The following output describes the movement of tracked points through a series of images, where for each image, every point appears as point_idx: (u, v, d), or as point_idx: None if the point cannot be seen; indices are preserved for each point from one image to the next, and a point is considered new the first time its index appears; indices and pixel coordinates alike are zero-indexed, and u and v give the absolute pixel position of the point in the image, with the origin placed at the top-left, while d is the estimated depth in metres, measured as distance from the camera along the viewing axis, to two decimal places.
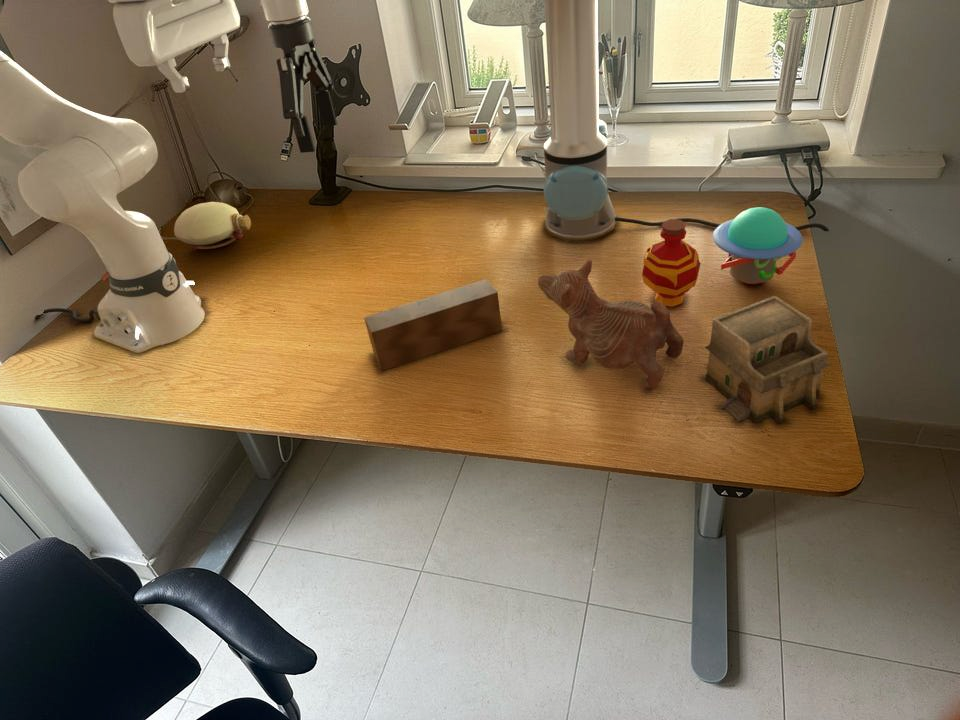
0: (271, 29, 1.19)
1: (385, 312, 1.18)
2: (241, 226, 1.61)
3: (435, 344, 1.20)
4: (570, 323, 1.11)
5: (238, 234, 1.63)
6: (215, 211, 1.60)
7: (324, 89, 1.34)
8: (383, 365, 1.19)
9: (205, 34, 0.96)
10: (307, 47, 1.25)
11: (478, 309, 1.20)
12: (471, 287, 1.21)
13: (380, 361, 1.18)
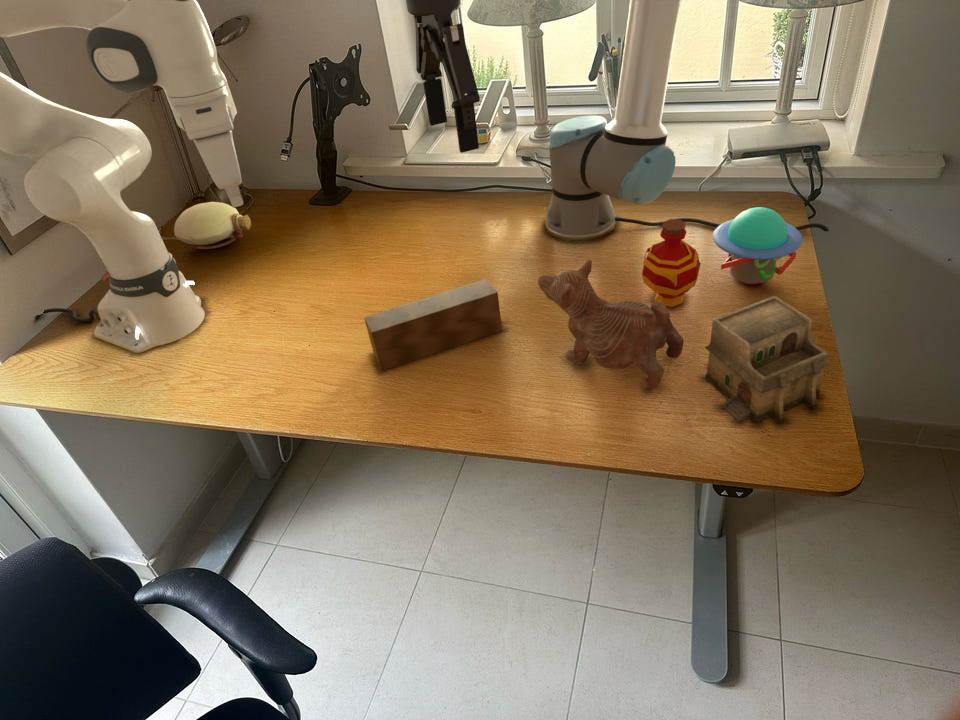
0: None
1: (385, 312, 1.18)
2: (241, 226, 1.61)
3: (435, 344, 1.20)
4: (570, 323, 1.11)
5: (238, 234, 1.63)
6: (215, 211, 1.60)
7: (434, 77, 1.05)
8: (383, 365, 1.19)
9: None
10: None
11: (478, 309, 1.20)
12: (471, 287, 1.21)
13: (380, 361, 1.18)
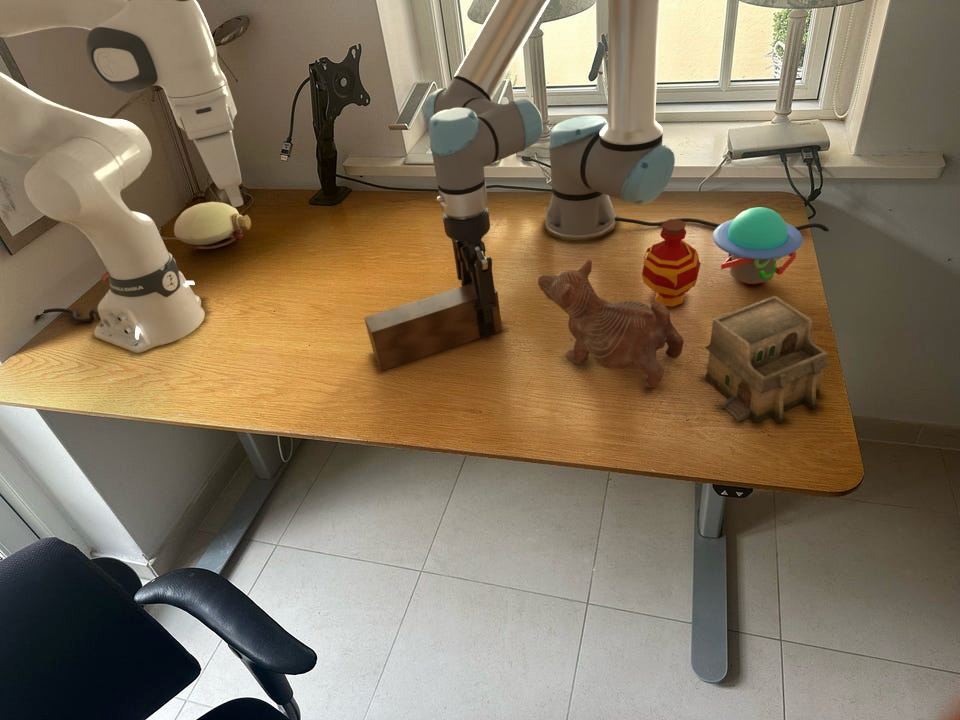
0: (459, 224, 1.09)
1: (385, 312, 1.18)
2: (241, 226, 1.61)
3: (434, 344, 1.20)
4: (570, 323, 1.11)
5: (238, 234, 1.63)
6: (215, 211, 1.60)
7: None
8: (383, 365, 1.19)
9: None
10: None
11: None
12: (471, 287, 1.21)
13: (380, 361, 1.18)
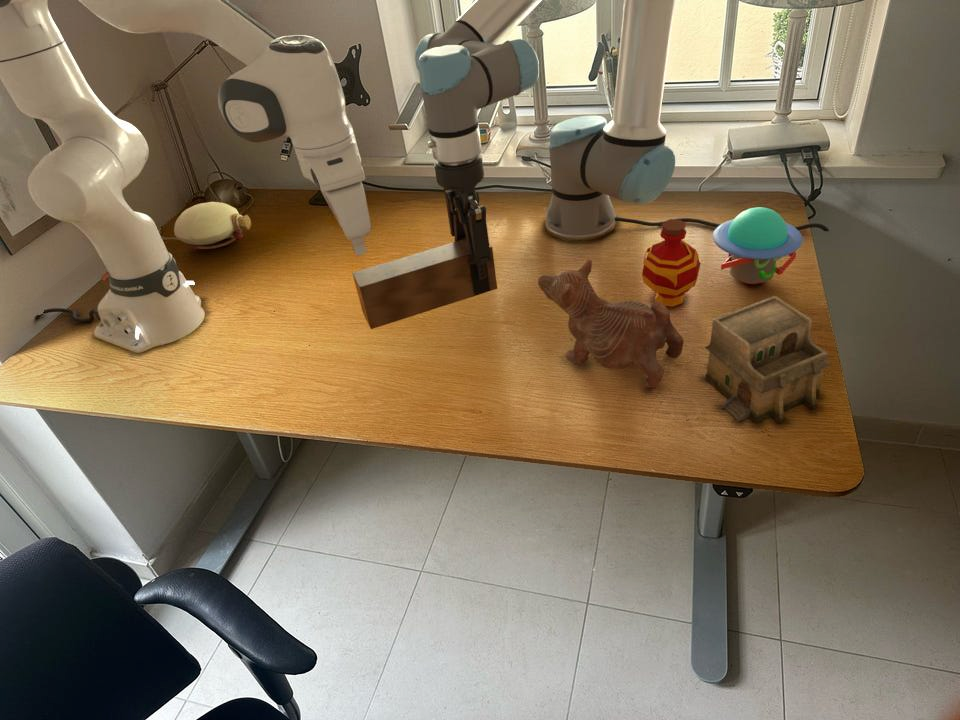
0: (451, 171, 1.03)
1: (374, 267, 1.13)
2: (241, 226, 1.61)
3: (426, 302, 1.15)
4: (570, 323, 1.11)
5: (238, 234, 1.63)
6: (215, 211, 1.60)
7: None
8: (372, 323, 1.13)
9: None
10: None
11: None
12: (465, 242, 1.16)
13: (369, 319, 1.12)
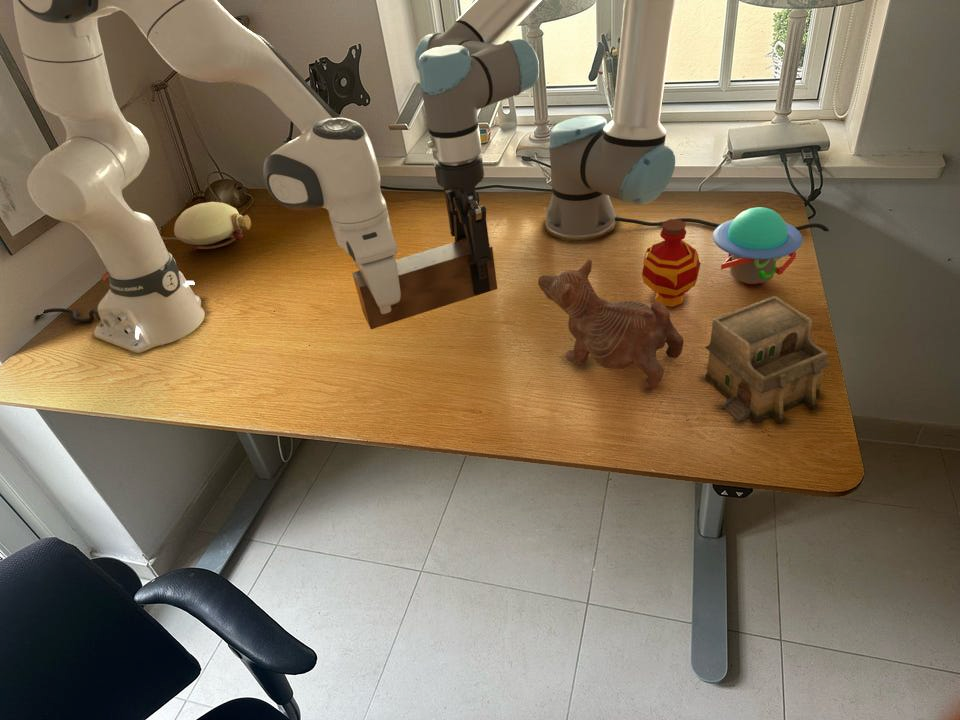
0: (451, 171, 1.03)
1: None
2: (241, 226, 1.61)
3: (426, 302, 1.15)
4: (570, 323, 1.11)
5: (238, 234, 1.63)
6: (215, 211, 1.60)
7: None
8: (372, 323, 1.13)
9: None
10: None
11: None
12: (465, 242, 1.16)
13: (369, 319, 1.12)
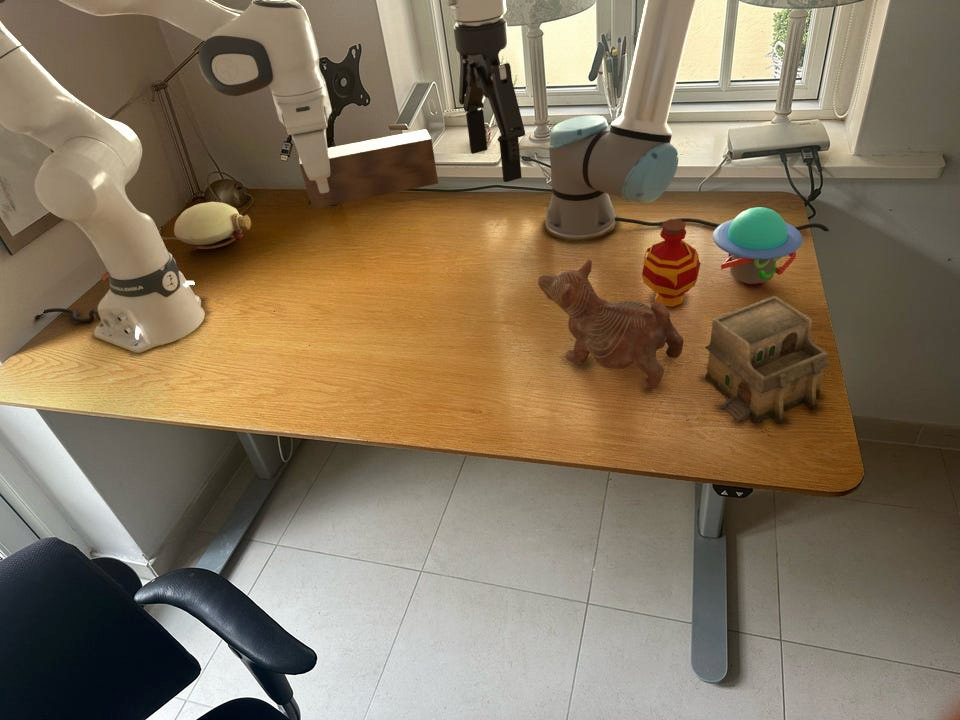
0: (473, 32, 0.93)
1: None
2: (241, 226, 1.61)
3: (366, 188, 1.21)
4: (570, 323, 1.11)
5: (238, 234, 1.63)
6: (215, 211, 1.60)
7: (476, 108, 1.10)
8: (313, 203, 1.21)
9: None
10: None
11: (411, 154, 1.20)
12: (408, 134, 1.22)
13: (310, 198, 1.20)
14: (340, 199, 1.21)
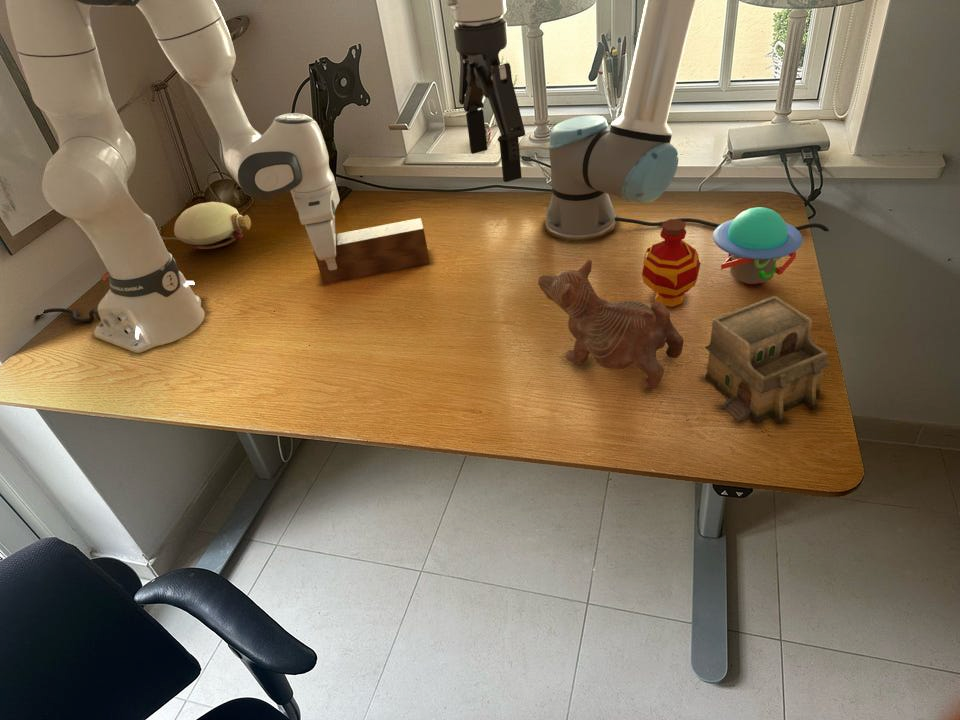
0: (473, 32, 0.93)
1: None
2: (241, 226, 1.61)
3: (369, 267, 1.44)
4: (570, 323, 1.11)
5: (238, 234, 1.63)
6: (215, 211, 1.60)
7: (476, 108, 1.10)
8: (324, 279, 1.44)
9: (334, 228, 1.42)
10: None
11: (406, 241, 1.42)
12: (405, 223, 1.44)
13: (322, 275, 1.43)
14: (347, 276, 1.45)
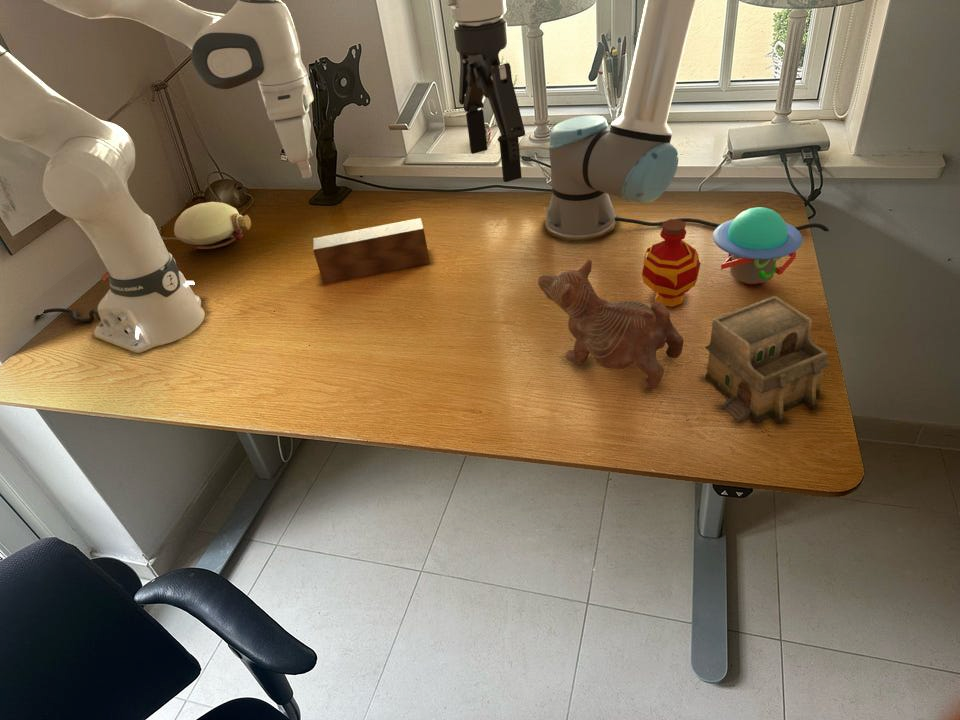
0: (473, 32, 0.93)
1: (330, 236, 1.43)
2: (241, 226, 1.61)
3: (369, 267, 1.44)
4: (570, 323, 1.11)
5: (238, 234, 1.63)
6: (215, 211, 1.60)
7: (476, 108, 1.10)
8: (324, 279, 1.44)
9: (309, 133, 1.30)
10: None
11: (406, 241, 1.42)
12: (405, 223, 1.44)
13: (322, 275, 1.43)
14: (347, 276, 1.45)
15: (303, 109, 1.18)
